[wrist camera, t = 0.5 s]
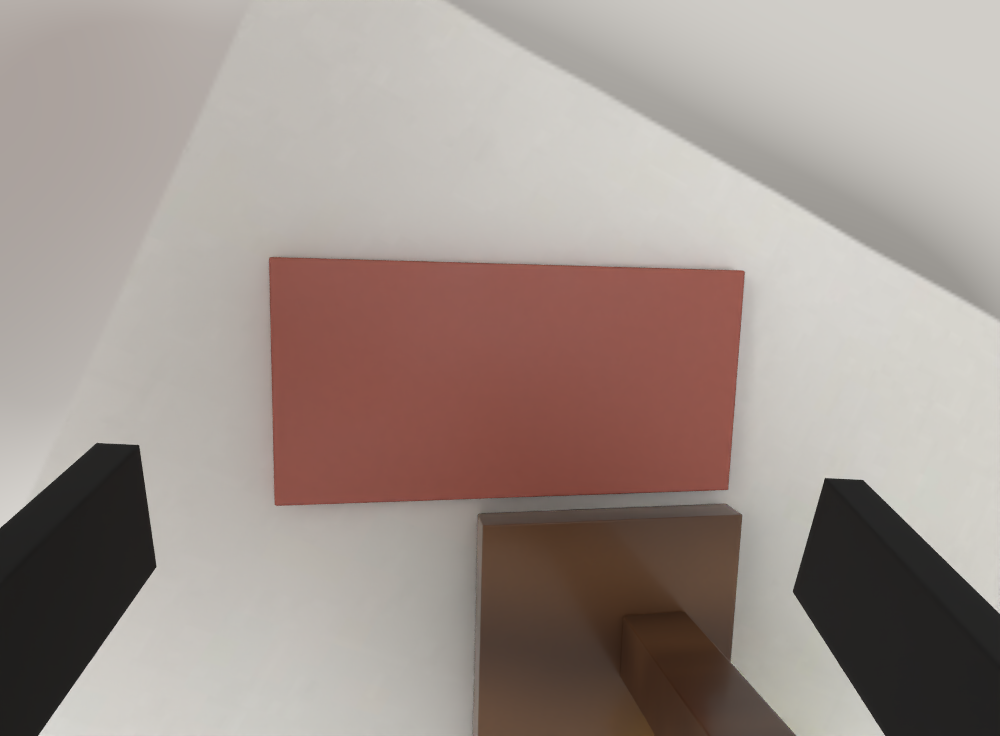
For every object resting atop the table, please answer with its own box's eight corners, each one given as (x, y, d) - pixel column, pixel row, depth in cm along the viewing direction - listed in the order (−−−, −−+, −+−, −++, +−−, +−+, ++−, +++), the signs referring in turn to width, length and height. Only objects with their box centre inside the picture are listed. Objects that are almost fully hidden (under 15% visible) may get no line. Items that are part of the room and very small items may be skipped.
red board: (272, 257, 27) (268, 257, 26) (733, 270, 30) (745, 270, 29) (278, 497, 28) (274, 506, 27) (718, 483, 32) (728, 490, 31)
